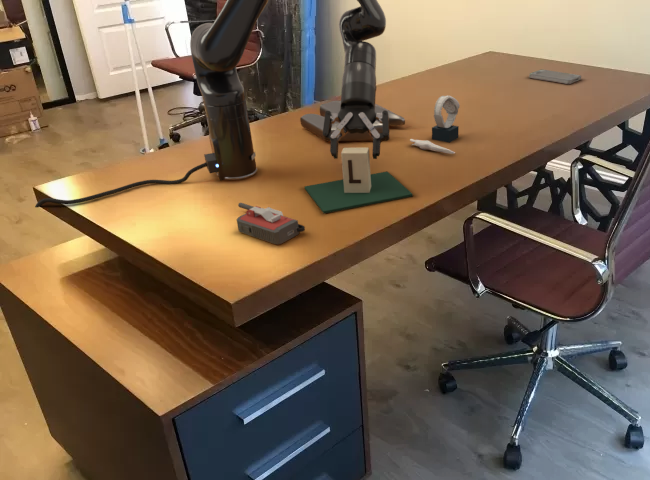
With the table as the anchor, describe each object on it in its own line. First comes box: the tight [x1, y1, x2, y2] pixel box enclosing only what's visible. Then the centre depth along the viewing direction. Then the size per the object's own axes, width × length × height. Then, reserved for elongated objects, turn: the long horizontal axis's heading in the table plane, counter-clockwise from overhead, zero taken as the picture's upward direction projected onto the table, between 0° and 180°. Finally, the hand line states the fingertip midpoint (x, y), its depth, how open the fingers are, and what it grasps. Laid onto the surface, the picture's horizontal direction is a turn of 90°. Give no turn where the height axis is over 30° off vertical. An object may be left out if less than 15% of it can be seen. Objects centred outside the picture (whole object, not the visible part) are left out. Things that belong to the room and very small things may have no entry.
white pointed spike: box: [409, 138, 456, 155], centre depth 164 cm, size 15×3×2 cm, turn 47°
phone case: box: [528, 69, 582, 85], centre depth 221 cm, size 8×16×1 cm, turn 47°
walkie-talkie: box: [236, 202, 306, 246], centre depth 129 cm, size 9×4×20 cm
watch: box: [431, 95, 461, 143], centre depth 170 cm, size 6×8×11 cm
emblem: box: [299, 100, 406, 142], centre depth 181 cm, size 28×5×28 cm
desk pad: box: [304, 171, 414, 215], centre depth 144 cm, size 20×15×1 cm
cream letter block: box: [340, 147, 372, 193], centre depth 141 cm, size 6×4×9 cm
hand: (354, 157), depth 140 cm, fingers open, 8 cm apart
